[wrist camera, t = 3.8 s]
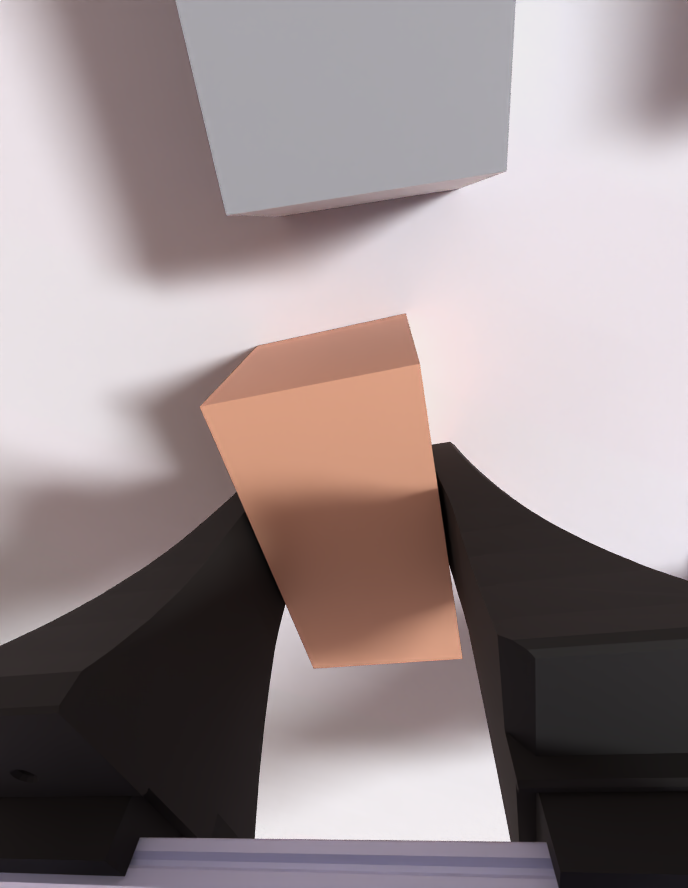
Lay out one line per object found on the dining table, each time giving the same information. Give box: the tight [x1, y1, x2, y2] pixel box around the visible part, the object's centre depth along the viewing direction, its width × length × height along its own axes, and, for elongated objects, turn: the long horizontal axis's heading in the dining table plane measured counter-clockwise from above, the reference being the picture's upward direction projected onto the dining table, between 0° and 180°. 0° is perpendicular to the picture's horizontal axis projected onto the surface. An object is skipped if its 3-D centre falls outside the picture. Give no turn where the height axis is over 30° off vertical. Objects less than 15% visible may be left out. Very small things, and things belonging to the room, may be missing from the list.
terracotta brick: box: [200, 314, 462, 668], centre depth 11 cm, size 8×4×4 cm, turn 13°
